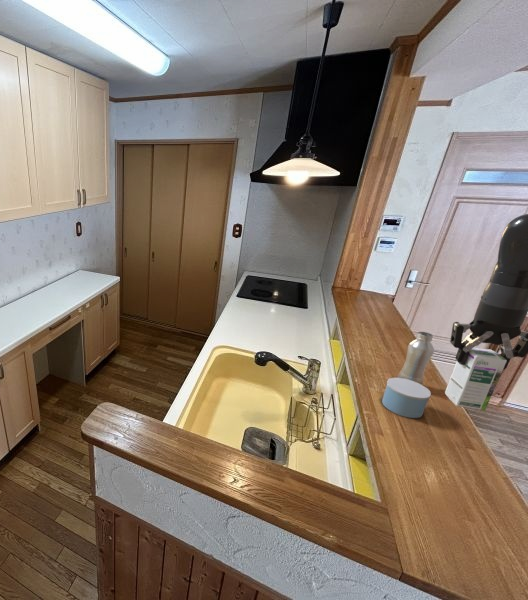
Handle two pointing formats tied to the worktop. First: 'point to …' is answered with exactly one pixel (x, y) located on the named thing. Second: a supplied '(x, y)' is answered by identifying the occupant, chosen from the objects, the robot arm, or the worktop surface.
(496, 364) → the syrup box
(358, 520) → the worktop surface
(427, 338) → the silver metal bottle
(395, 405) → the yogurt tub
